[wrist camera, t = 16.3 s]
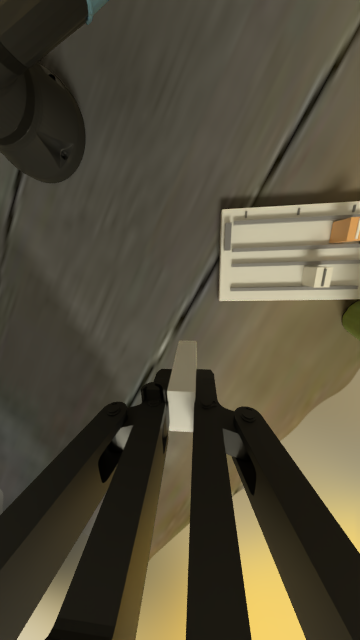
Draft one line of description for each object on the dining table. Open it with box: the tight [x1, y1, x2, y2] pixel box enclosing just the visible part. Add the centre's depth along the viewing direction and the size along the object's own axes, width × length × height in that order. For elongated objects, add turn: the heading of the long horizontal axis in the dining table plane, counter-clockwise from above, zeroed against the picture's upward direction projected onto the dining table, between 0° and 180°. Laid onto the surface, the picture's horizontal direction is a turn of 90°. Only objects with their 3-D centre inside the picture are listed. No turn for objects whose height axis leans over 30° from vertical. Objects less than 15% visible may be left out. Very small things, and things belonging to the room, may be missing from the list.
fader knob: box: [329, 217, 360, 243], centre depth 30 cm, size 3×2×4 cm
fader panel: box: [218, 201, 360, 301], centre depth 32 cm, size 16×26×6 cm, turn 92°
